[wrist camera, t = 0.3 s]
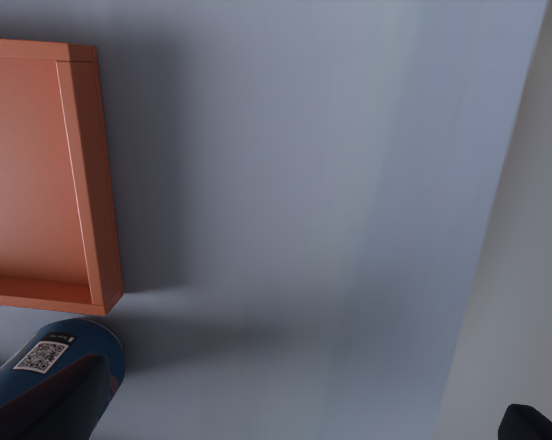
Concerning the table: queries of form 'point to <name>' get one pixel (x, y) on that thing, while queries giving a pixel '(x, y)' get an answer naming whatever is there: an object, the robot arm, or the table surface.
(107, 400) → the soda can
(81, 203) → the terracotta tray
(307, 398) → the table surface
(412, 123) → the table surface
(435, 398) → the table surface
